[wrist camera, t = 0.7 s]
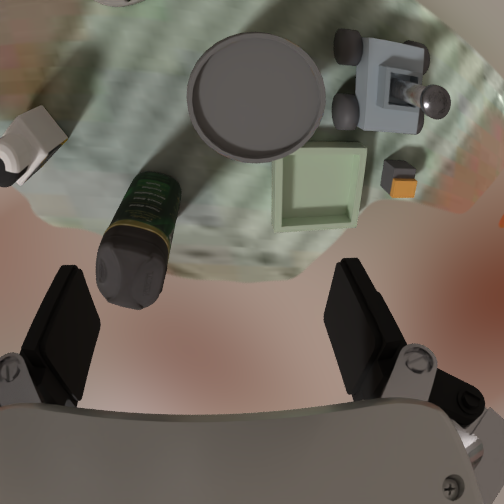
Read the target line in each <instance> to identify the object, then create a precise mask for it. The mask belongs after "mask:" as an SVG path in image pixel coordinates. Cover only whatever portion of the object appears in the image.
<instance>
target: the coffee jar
mask: <svg viewBox="0 0 504 504" xmlns="http://www.w3.org/2000/svg"><path fill="white" fill-rule="evenodd" d="M180 199H181V188H180V185H179V183H178V182H177V181H176V180H175V179H173V178H172V177H170V176H167V175H164V174H161V173H156V172H143V173H140V174H138V175H137V176H136V177H135V178H134V179H133V181H132V183H131V185H130V187H129V188H128V190H127V192H126V194H125V196H124V198H123V200H122V202H121V204H120V206H119V208H118V210H117V212H116V214H115V216H114V218H113V220H112V222H111V223H110V225H109V227H108V228H107V230H106V231H105V233H104V235H103V238H102V240H101V243H100V246H99V249H98V252H97V259H96V283H97V286H98V288H99V290H100V292H101V293H102V295H103V296H104V297H105V298H106V299H107V301H108V302H109V303H112V304H115V305H119V306H122V307H126V308H131V309H136V310H141V309H143V308H145V307H148V306H150V305H151V304H153V303H154V302H155V301H156V300H157V298H158V297H159V294H160V293H161V292H162V288H163V284H164V279H165V275H166V271H167V264H168V259H169V254H170V248H171V243H172V239H173V233H174V228H175V223H176V219H177V214H178V210H179V205H180Z"/></svg>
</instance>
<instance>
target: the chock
mask: <svg viewBox="0 0 504 504" xmlns="http://www.w3.org/2000/svg"><path fill="white" fill-rule="evenodd" d="M415 173H416V169H415V168H414V167H413V166H411V165H410V164H409V163H408V162H406V161H400V160H384V165H383V171H382V178H381V184H380V186H381V187H382V188H383V189H384V190H385V191H386V192H387V193H388V194H389V195H390V196H391V197H392V198H414V195H415V190H416V185H417V180H415V179H414V178H415Z"/></svg>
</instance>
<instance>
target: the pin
mask: <svg viewBox="0 0 504 504" xmlns="http://www.w3.org/2000/svg"><path fill="white" fill-rule="evenodd" d="M389 94H390V95H391V96H392V97H394V98H397V99H400V100H402V101H405V102H407V103H410V104H412V105H414V106H417V107H419V108H421V109H422V111H423V112H424V113H425V114H426V115H427V116H429V117H431V118H433V119H442V118H444V117H445V116H446V115H447V114H448V112H449V110H450V106H451V100H450V96H449V94H448V92H447V91H446V90H445V89H444V88H443V87H441V86H437V85H428V86H427V87H426V86H423V85H420V84H416V83H413V82H409V81H406V80H402V79H399V78H392V79H390V90H389Z"/></svg>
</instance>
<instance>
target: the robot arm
mask: <svg viewBox="0 0 504 504" xmlns="http://www.w3.org/2000/svg"><path fill="white" fill-rule="evenodd" d="M94 1H96V2H98V3H100V4H103V5H106V6H112V7H124V6H130V5H134V4H137V3H140V2H142V1H144V0H131V1H130V2H128V0H94ZM324 323H325V326H326V329H327V332H328V335H329V338H330V341H331V344H332V347H333V350H334V353H335V357H336V359H337V362H338V366H339V369H340V372H341V375H342V378H343V382H344V384H345V387H346V391H347V393H348V394H349V395H350V394H352V397H353V400H354V402H348V403H341V404H334V405H327V406H319V407H311V408H302V409H293V410H284V411H273V412H259V413H243V414H218V415H168V414H143V413H127V412H115V411H104V410H95V409H85V408H77V403H78V401H80V400H81V399H82V396H83V392H84V387H85V383H86V379H87V375H88V371H89V367H90V363H91V359H92V355H93V352H94V348H95V345H96V341H97V338H98V334H99V331H100V325H101V324H100V318H99V316H98V313H97V311H96V308H95V306H94V303H93V300H92V298H91V295H90V292H89V289H88V286H87V284H86V281H85V278H84V275H83V272H82V270H81V269H78V267H77V266H76V265H62V266H61V267H60V269H59V271H58V273H57V274H56V276H55V278H54V280H53V282H52V284H51V286H50V288H49V290H48V291H47V293H46V295H45V297H44V299H43V301H42V303H41V305H40V308H39V310H38V312H37V314H36V316H35V318H34V320H33V322H32V324H31V327H30V329H29V331H28V333H27V336H26V338H25V340H24V343H23V345H22V347H21V351H20V354H18V353H14V352H13V353H7V354H5V355H3V356H2V357H0V504H492V503H493V501H494V500H495V498H496V497H497V495H498V493H499V492H500V490H501V488H502V487H503V485H504V419H503V418H502V417H501V416H499V415H498V414H497V413H496V412H495V411H494V410H493V409H492V408H491V407H489V408H488V409H486V408H485V401H484V397H483V395H482V394H481V392H480V391H479V390H478V389H477V388H475V387H474V386H472V385H470V384H468V383H466V382H464V381H462V380H460V379H458V378H456V377H454V376H452V375H450V374H448V373H446V372H444V371H442V370H440V369H438V368H437V360H436V357H435V355H434V354H433V352H432V351H431V350H430V349H429V348H427V347H425V346H423V345H420V344H409V345H407V343H406V341H405V339H404V337H403V335H402V333H401V331H400V329H399V327H398V325H397V324H396V322H395V320H394V318H393V316H392V314H391V312H390V311H389V309H388V306H387V305H386V303H385V301H384V299H383V297H382V296H381V294H380V293H379V292H377V291H376V289H375V287H374V285H373V284H372V282H371V280H370V278H369V276H368V275H367V273H366V271H365V269H364V267H363V266H362V264H361V262H360V261H359V259H358V258H343V259H342V260H341V262H338V263H337V264H336V268H335V272H334V276H333V280H332V284H331V288H330V292H329V296H328V300H327V304H326V308H325V312H324Z"/></svg>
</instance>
